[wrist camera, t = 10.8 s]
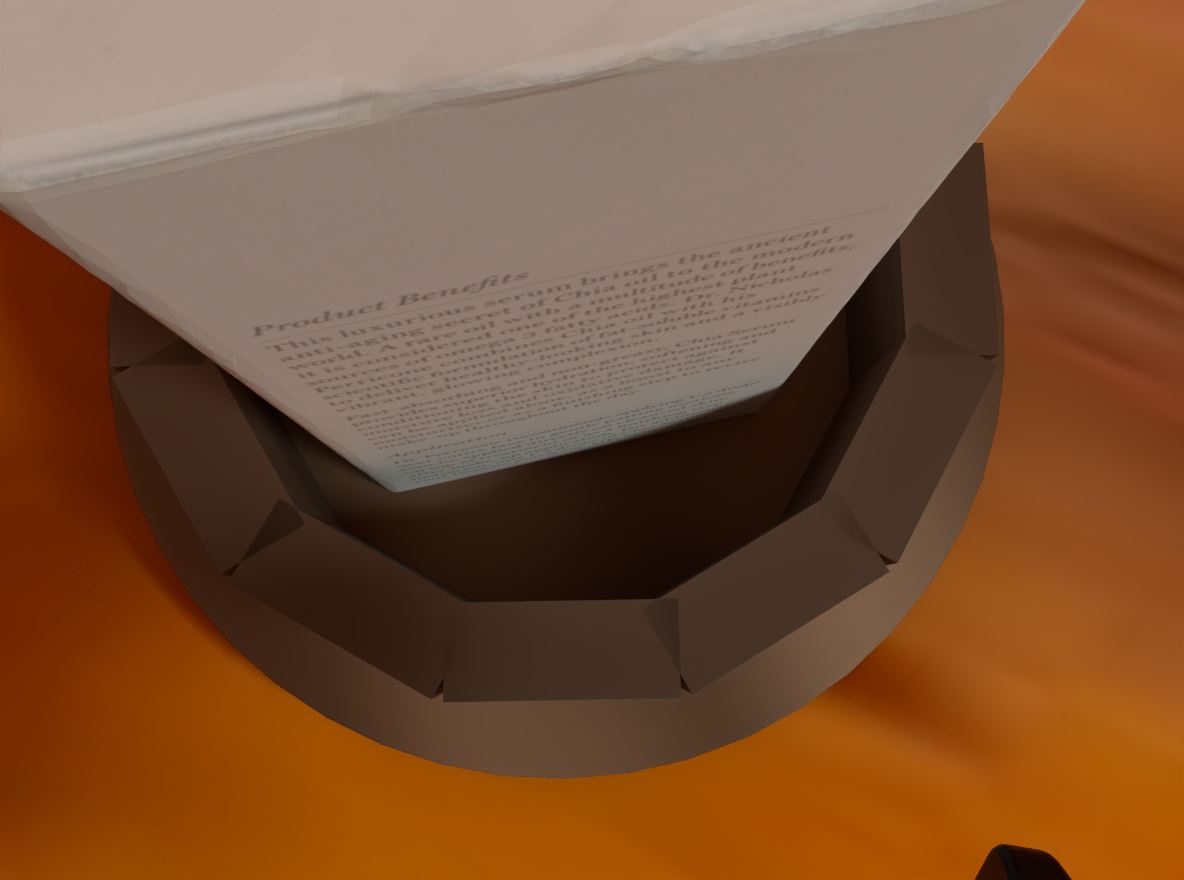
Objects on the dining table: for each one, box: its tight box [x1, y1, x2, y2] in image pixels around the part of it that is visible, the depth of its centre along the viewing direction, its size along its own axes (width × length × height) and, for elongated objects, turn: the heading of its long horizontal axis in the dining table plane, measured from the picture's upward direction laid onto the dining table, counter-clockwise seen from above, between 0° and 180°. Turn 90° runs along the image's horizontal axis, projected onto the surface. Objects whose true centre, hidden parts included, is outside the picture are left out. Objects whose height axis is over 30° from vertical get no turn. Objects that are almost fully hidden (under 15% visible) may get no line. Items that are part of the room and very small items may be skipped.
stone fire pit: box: [108, 143, 1004, 779], centre depth 17 cm, size 14×14×4 cm
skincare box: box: [0, 0, 1086, 492], centre depth 12 cm, size 6×4×12 cm
